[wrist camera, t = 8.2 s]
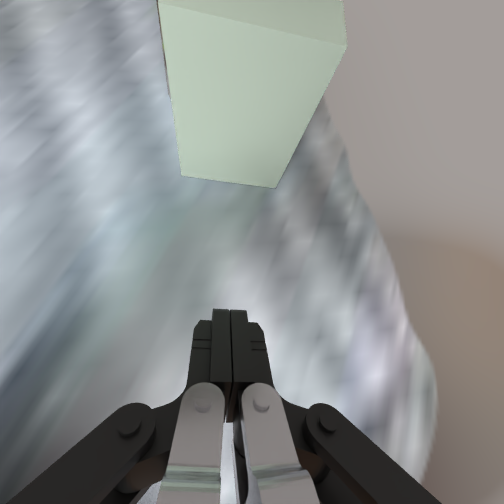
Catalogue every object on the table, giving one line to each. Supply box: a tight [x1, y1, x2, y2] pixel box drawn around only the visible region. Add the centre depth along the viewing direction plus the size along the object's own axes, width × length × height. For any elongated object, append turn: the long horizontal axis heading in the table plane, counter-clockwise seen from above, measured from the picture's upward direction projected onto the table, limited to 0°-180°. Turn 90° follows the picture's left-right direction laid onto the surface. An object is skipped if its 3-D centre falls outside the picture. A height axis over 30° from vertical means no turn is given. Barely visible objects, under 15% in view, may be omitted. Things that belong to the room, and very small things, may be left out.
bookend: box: [158, 0, 347, 189], centre depth 17 cm, size 8×3×12 cm, turn 87°
